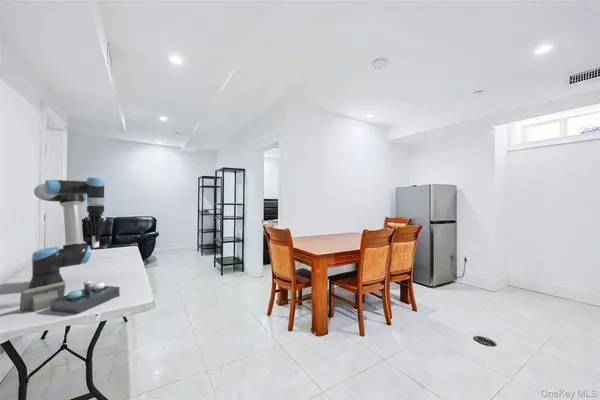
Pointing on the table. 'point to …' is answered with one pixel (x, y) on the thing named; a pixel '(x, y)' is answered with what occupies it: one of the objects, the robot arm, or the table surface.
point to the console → (84, 300)
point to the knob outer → (75, 295)
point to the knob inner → (98, 286)
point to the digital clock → (41, 296)
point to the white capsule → (87, 287)
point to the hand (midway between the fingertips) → (95, 247)
